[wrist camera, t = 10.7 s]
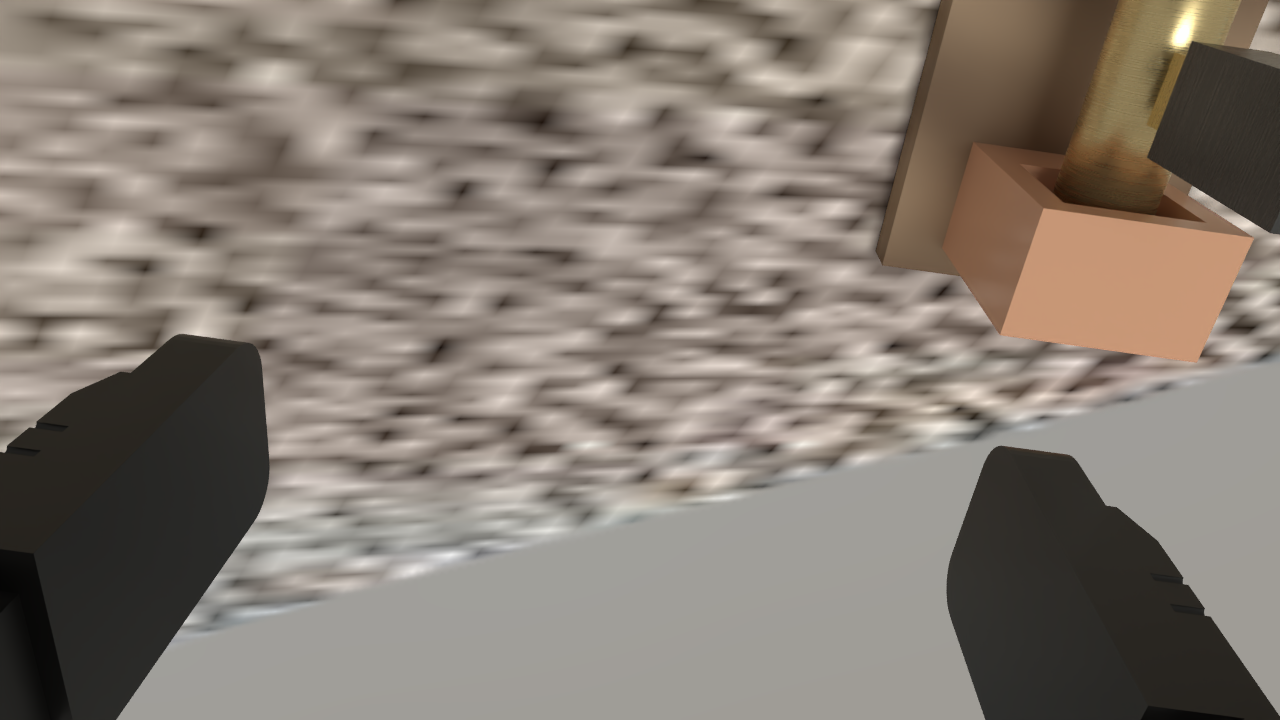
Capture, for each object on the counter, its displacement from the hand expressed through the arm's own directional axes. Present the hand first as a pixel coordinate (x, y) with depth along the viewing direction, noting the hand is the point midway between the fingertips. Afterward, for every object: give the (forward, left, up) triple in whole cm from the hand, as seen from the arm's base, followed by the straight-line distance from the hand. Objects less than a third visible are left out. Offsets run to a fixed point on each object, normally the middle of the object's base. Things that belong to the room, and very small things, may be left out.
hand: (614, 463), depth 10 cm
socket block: (+3, +14, -25) cm, 28 cm away
